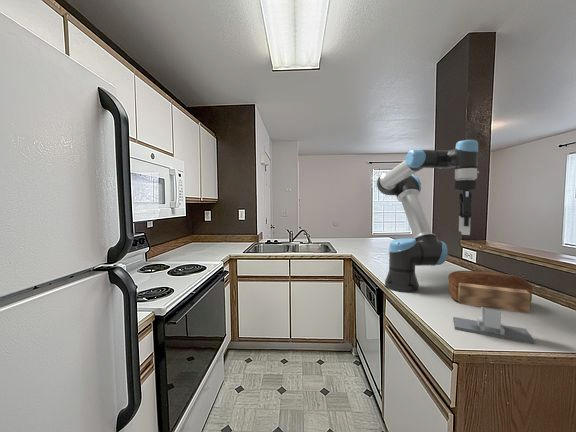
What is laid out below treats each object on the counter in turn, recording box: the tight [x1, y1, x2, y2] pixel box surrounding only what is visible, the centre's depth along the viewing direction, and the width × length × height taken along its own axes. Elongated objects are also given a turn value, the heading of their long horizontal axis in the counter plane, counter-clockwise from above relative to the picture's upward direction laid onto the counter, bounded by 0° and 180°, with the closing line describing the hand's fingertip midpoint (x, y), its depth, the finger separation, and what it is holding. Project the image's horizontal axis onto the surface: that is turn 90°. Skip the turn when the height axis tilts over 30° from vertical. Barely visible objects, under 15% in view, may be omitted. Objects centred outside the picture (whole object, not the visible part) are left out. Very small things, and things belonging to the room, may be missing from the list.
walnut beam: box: [457, 283, 531, 314], centre depth 90 cm, size 18×4×6 cm, turn 63°
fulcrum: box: [452, 307, 536, 344], centre depth 90 cm, size 20×9×8 cm, turn 63°
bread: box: [447, 270, 533, 305], centre depth 117 cm, size 14×28×12 cm, turn 72°
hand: (464, 233), depth 113 cm, fingers open, 13 cm apart
